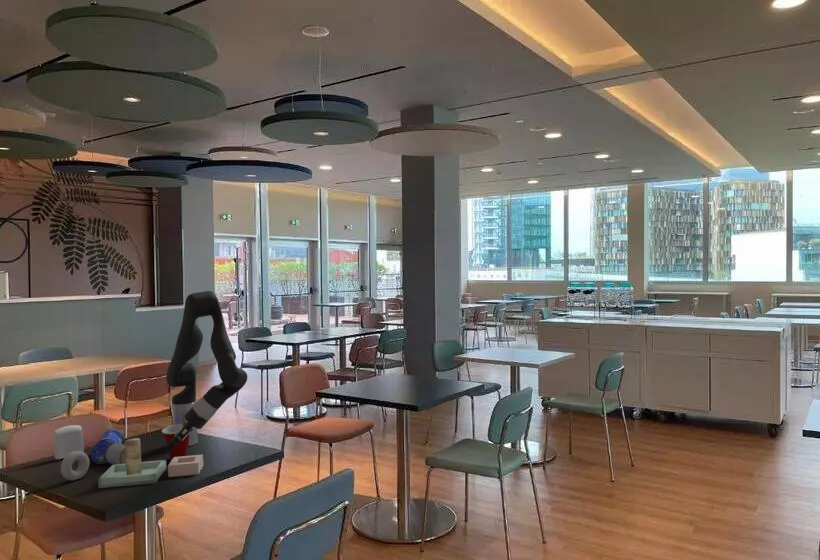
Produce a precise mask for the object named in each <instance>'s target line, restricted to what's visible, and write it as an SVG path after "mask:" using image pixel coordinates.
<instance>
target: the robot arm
mask: <svg viewBox="0 0 820 560" xmlns="http://www.w3.org/2000/svg"><path fill="white" fill-rule="evenodd" d="M209 316H210V317H211V318H212V319H211V320H212V321H213V325H212V326H213V327H212V330H211V331H212V332H211V336H210V349H211V352H212V354H213V356H214V358H215V361H216V365H217V371H218V375H219V378H220V380H221V383H219V384H215V385H213V386H211V388H209V389H208V390H207V391H206V393H204V394H203V396H202V397H200V398H199V399H198V400H197V373H196V366H195V365H194V363H193V362H189V361H191V360H192V359H193V358H194V357H195V356H197V355H198V353H199V352H200V350H201V348H202V347H201V346H202V344H203V340H204V335H203V332H202V331H201V329H200V327H199V326H198V325H197V324H196V321H197V319H199V318H204V317H209ZM236 355H237V354H236V352H235V350H234V347H233V345H232V342H231V340H230V338H229V335H228V332H227V329H226V324H225V320H224V316H223V311H222V308H221V304H220V301H219V298H218V296H217V295H216V293H215V292H214V291H211V290H207V291H206V290H205V291H200V292H193V293H190V294H188V295H187V297H186V299H185V301H184V308H183V315H182V322H181V326H180V329H179V333H178V336H177V340H176V343H175V348H174V351H173V354H172V358H171V360H170V362H169V365H168V367H167V371H166V383H167V385H168V386H169V387H171V388H179V387H184V388H183V389H182V390H181V391H180V392H179V393H177V394H174V395H173V396H172V397H171V407H172V408H171V409H172V425H177V424H183V425H182V426H181V427H180V429H179V430H178V432H177V433H176V434H175V437H174V438H173V439H172V440H171V441H170V443H169V444H168V445H167V444H166V445H165V447H164V449H163V450H164V451H165V452H166V453H168V454H169V452H170V451H171V450H172V449H173V448H174V447H175V446H176V445H178V444H179V442H180V441H181V440H184V439H185V438H186V436H187V435H189V434H190V437H189V446H194V445H196V444H198V442H199V441H198V440H199V439H198V430H201V429H203V427H204V426H205V425H206V424H207V423H208V422H209V421H210V420H211V418H213V416H215V415H216V412H217V411H218V410H219V409H220V408H221V407H222V406H223V404H225V402H226V401H227V400H228V399H229V398H232V397H233V396H234V395H235V394H237V393H238V392H240V390H242V388H244V387H245V385H246V383H247V382H248V374H247V372H246V370H244V369H242V368H239V367H238V366H237V364H236V360H237V356H236Z"/></svg>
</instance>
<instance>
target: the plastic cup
mask: <svg viewBox="0 0 820 560" xmlns="http://www.w3.org/2000/svg"><path fill="white" fill-rule="evenodd" d="M182 425H183V424H177V425H173V424H172V425H170V426H166V427H164V428H163V429H162V430H161V433H162V434H163V436H164V438H165V441H166V446H167V445H168V444H169V443H170V441H171V440H172V439H173V438H174V437H175V434H176V433H177V432H178V430H179V429H180V427H181V426H182ZM189 437H190V434H189V435H187V436H186V438H185V439H184V440H181V441H180V442H179V444H178V445H176V446H175V447H174V448H173V449H172V450H171V451H170V452H169V453H168V454H169V457H170V460H171V461H172V459H173V458H174V457H181V456H188V451H189Z"/></svg>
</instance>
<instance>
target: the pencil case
mask: <svg viewBox="0 0 820 560" xmlns="http://www.w3.org/2000/svg"><path fill="white" fill-rule="evenodd" d="M124 439H125V438H124V435H123V433H122V432H121V431H120V430H117V429H112V428H109V429H107V430H106V431H104V432H103V433H102V434H101V435H100V438H99V439H98V441H97V442H96V443H95V444H94V445H93V446H92V448H91V451H90V457H91V460H92V462H94V463H96V464H97V465H100V464H103V465H107V464H110V463H109V462H108V461H107V459H106V452H107V450H108V448H109V447H110V446H111V445H112V444H115V443H120V444H123V443H124V442H125V440H124Z"/></svg>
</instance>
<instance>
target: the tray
mask: <svg viewBox="0 0 820 560" xmlns="http://www.w3.org/2000/svg"><path fill="white" fill-rule="evenodd" d="M141 467H142V474H138V475H128V476H127V474H126V463H125V464H111V466H110V467H109V468H108V469H106V471H105V472H104V473H103V474H102V475H101V476H100V477H99V478H98V479H97V483H98V484H97V487H98V489H106V488H117V487H127V486H137V485H149V484H156V483H157V482H158V481H159V479H160V478H161V476H162V475H163V473H164V472H165V471H166V470H167V460H166V459H163V460H162V459H160V460H149V461H141Z"/></svg>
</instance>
